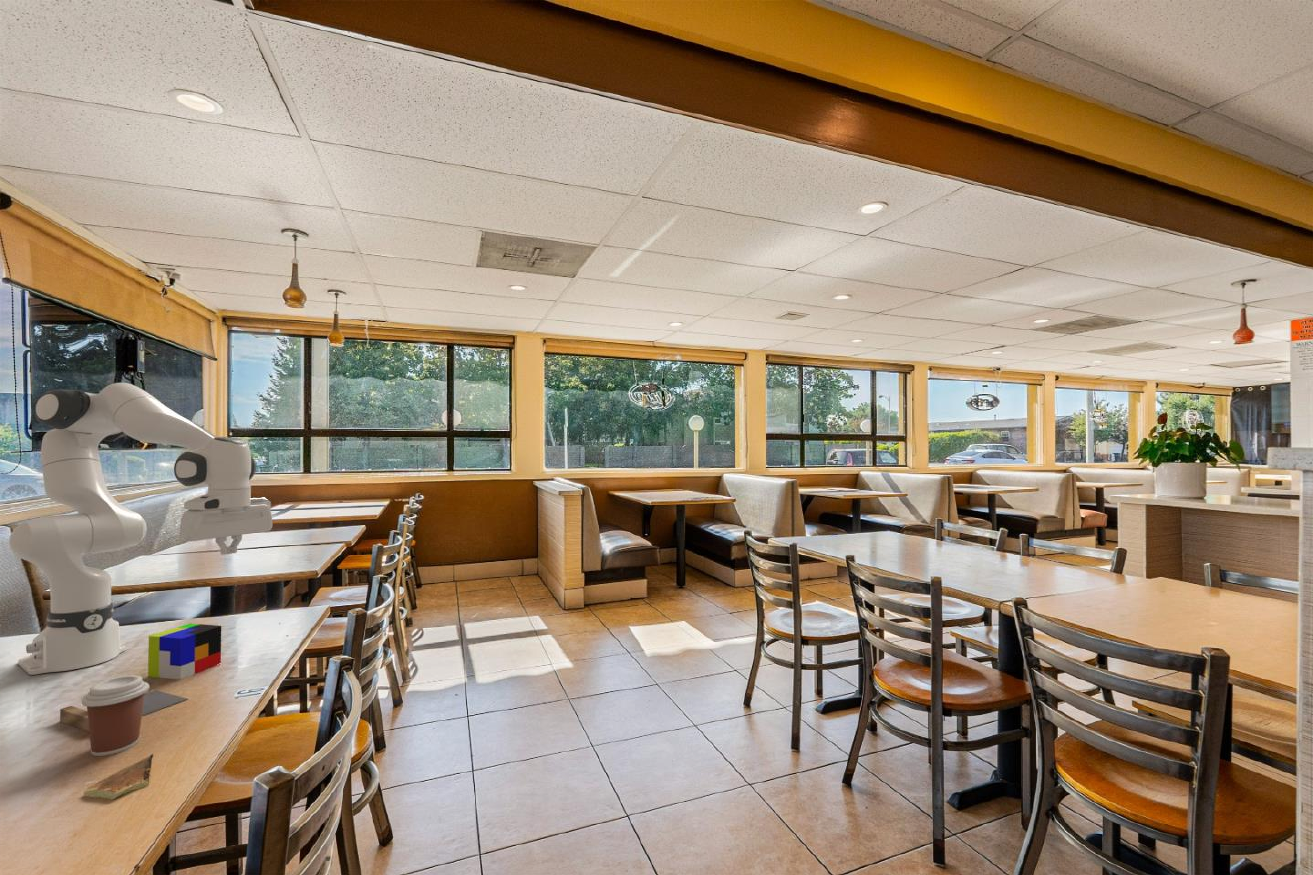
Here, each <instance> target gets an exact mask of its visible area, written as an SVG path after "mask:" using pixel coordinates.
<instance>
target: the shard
mask: <svg viewBox="0 0 1313 875" xmlns="http://www.w3.org/2000/svg"><path fill="white" fill-rule="evenodd" d="M153 758H154V753H152V754H151V755H149V756H147V757H145V758H143V759H141V760H139V761H138V762H136V763H134V764H132V765H129V766H127V767H125V768H123V769H121V770H120V771H119V770H118V771H117V772H115V773H113V774H111V775H109V776H107V777H105V778H103V779H102V780H99V781H98V782H97V783H95V784H93V785H91V786H89V787H87V789H85V791H83V796H84V797H86V796H87V797H88V798H89V797H91V798H100V797H101V799H105V798H110V799H109V800H112V799H113V800H115V799H117V798H119V797H120V796H122V794H123V795H126V794H127V792H128V793H130V792H133V791H135V789H136V790H139V789H141V788H144V787H147V786H149V785H150V783H151V775H152V774H151V772H152V768H153ZM132 790H133V791H132ZM129 791H130V792H129ZM116 797H117V798H116Z"/></svg>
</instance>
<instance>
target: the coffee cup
mask: <svg viewBox="0 0 1313 875" xmlns="http://www.w3.org/2000/svg"><path fill="white" fill-rule="evenodd" d="M149 689H150V684H149V683H148V682H146V681H144V680H143V677H142V676H140V675H136V674H135V675H134V674H132V675H130V674H129V675H122V676H115V677H112V678H108V679H105V680H102V681H99V682H98V683H95V684H93V685H92V686H91V687H90V688H89V692H88V693H87V694H85V696H83V697H82V698H81V704H82V706H83V707H86V709H87V710H86V711H87V713H88V723H89V731H88V732H89V741H90V754H91V756H94V757H105V756H110V755H115V754H117V753H122V752H123V751H126V750H129V749H131V748H133V747H134V746H136V745H137V744H138V743H139V741H140V732H141V725H142V717H143V716H142V709H143V701H144V694H146V693H148V691H149Z"/></svg>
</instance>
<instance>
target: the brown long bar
mask: <svg viewBox="0 0 1313 875" xmlns="http://www.w3.org/2000/svg"><path fill="white" fill-rule="evenodd" d="M59 722H60V723H63V724H66V725H69V726H71V727H75V728H78V729H81V730H83V731H87V732H89V723H88V713H87V710H86V709H82V708H79V707H76V706H72V705H69V706H66V707H63V708H60V711H59Z"/></svg>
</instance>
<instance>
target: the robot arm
mask: <svg viewBox="0 0 1313 875" xmlns="http://www.w3.org/2000/svg"><path fill="white" fill-rule="evenodd" d="M33 412H34V413H33V414H34V416H35V418H36V421H38V422H39V423H40V424H41V425H44V426H46V427H48V428H51V430H48V431H47V432H46V433H45V434H44V435H43V436H42V440H41V441H42V442H41V446H40V447H41V448H40V449H41V450H40V462H41V463H40V464H41V470H42V471H41V472H42V477H43V478H42V479H43V485H44V491H45V495H46V496H47V497H48V499H50V500H51V501H53V502H55V503H58V504H62V505H64V506H68V507H70V508H72V509H73V510H75V512H76V513H71V514H60V515H59V514H58V515H50V516H43V517H38V518H32V519H29V520H23V521H22V522H20V523H19V524H17V525H16V527H14V528H13V530H12V532H11V534H10V535H9V539H8V540H9V547H10V549H11V551H12V552H13V554H14V555H15V556H16V557H18V558H20V559H22V560H24V561H27V562H29V563H31V564H33V565H35V566H36V567H37V568H39V570H40V571H42V572H43V574H44V575H45V577H46V579H47V582H48V584H49V594H50V611H49V612H47V616H46V620H45V628H43V630H42V631H41V632H40V633H38V635H36V636H35V637H34V638H33V639H32V642H31V643H28V644H26V646H25V651H26V654H30V655H27V656H25V657H21V658H20V659H18V660H17V664H18V666H20V667H21V668H22V670H23V671H24V672H26V673H27V674H28V675H29V676H30V675H31V676H32V675H40V674H45V673H46V674H48V673H55V672H64V671H65V672H66V671H72V670H77V669H83V668H87V667H91V666H95V665H98V664H101V663H105V662H108V661H110V660H112V659H114V658H117V657H118V656H119V655H120V654H121V653H123V652H125V651H126V650H127V646H126V645H121V634H120V623H119V621H117V620H115V619H114V618H113V617H114V610H115V608H114V604H113V603H112V578H111V575H110V574H109V573H108V571H106V570H103V569H100V568H98V567H94V566H88V565H85V562H84V559H83V558H84V557H83V556H86V555H94V554H100V553H101V554H102V553H109V552H110V553H111V552H116V551H121V550H124V549H128V548H132V547H135V546H138V545H139V544H140V543H141V542H142V541H143V539H144V538H145V537H146V534H147V530H148V529H147V525H148V524H147V523H146V522H147V521H146V520H145V519H144V517H143V516H142V515H141V514H139V513H138V512H136V511H133V510H131V509H129V508H127V507H125V506H124V505H122V504H121V503H120V502H118V501H117V500H116V499H115V497H114V496H113V495H112V494H111V493H110V491H109V490H108V487H107V485H106V482H105V477H104V473H103V468H102V462H101V459H100V458H101V457H100V453H99V445H100V443H101V442H102V441H105V442H108V443H113V442H115V441H116V440H118V439H119V438H123V437H126V436H128V437H130V438H132V439H133V440H136V441H138V442H142V443H149V444H157V445H158V444H159V445H169V446H175V447H176V446H177V447H182V448H185V449H189V451H184V452H182V453H181V454H180V455H179V456H178V457H177V459H176V460H175V461H174V465H173V473H174V476H175V478H176V480H177V481H178V482H179V483H180V484H181V485H182V486H185V487H190V488H205V487H207V493H205V494H202V495H200V496H198V497H194V498H192V499H188V500H186V501H184V503H183V508H184V509H185V510H186V511H185V512H184V513H183V514H182V516H181V519H180V524H179V538H180V539H181V540H182V541H184V542H199V541H204V540H213V539H215V543H216V544H217V545H218V547H219V548H220V549H219V550H220V552H219V553H220V555H223V556H225V555H230V554H237V552H238V546H239V545H240V542H241V541H242V540H243V535H250V534H255V533H263V532H265V533H266V532H269V531H271V530H272V528H273V516H272V511H271V510H272V502H271V500H269V499H267V498H266V497H253V498H251V497H252V496H251V495H252V494H251V493H252V491H251V490H252V484H251V483H250V481H251V480H252V478H253V477H254V475H255V473H256V470H257V464H256V461H255V459H254V457H253V456H252V454H251V448H250V445H249V443H248V441H246V440H244V439H241V438H236V437H229V436H228V437H227V436H220V437H219V436H217V435H215V434H214V433H212V432H211V431H208V430H207V429H205V428H204V427H202V426H201V425H199V424H197V423H195V422H193V421H191V420H190V419H188V418H186V417H184V416H182V415H180V414H179V413H177V412H176V411H174V410H173V409H171V408H170V407H168V406H166V405H165V404H163V403H162V402H161V401H160V400H159V399H157V398H156V397H154V396H153V395H152V394H150V393H149V392H147V391H145V390H144V389H142V388H141V387H138V386H136V385H134V384H132V383H128V382H113V383H112V384H109V385H107V386H105V387H104V388H102V389H101V391H99V393H92V392H86V391H84V390H76V389H69V388H67V389H62V388H61V389H50V390H48V391H45V392H44V393H42V394H41V395H40V396H39V397H38V398H37V400H36V401H35V403H34V407H33ZM228 537H231V540H232V541H231V543H230V545H229V546H227V544H226V542H227V540H228V539H227V538H228Z"/></svg>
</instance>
